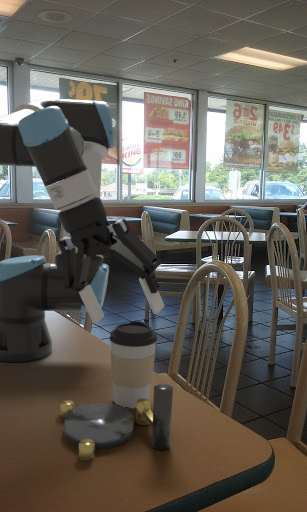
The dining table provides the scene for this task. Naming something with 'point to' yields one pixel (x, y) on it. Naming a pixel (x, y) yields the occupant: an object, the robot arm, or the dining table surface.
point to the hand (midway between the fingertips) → (127, 315)
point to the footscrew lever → (157, 415)
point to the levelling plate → (96, 426)
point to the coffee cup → (132, 362)
